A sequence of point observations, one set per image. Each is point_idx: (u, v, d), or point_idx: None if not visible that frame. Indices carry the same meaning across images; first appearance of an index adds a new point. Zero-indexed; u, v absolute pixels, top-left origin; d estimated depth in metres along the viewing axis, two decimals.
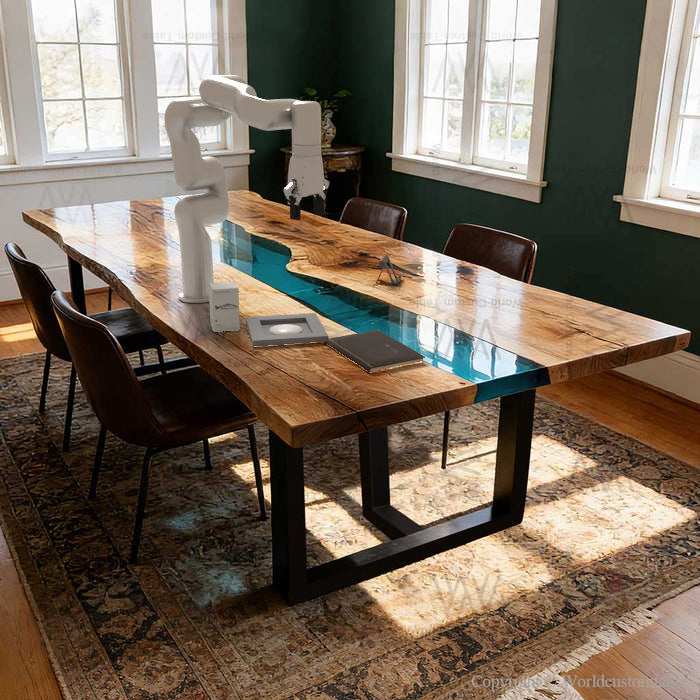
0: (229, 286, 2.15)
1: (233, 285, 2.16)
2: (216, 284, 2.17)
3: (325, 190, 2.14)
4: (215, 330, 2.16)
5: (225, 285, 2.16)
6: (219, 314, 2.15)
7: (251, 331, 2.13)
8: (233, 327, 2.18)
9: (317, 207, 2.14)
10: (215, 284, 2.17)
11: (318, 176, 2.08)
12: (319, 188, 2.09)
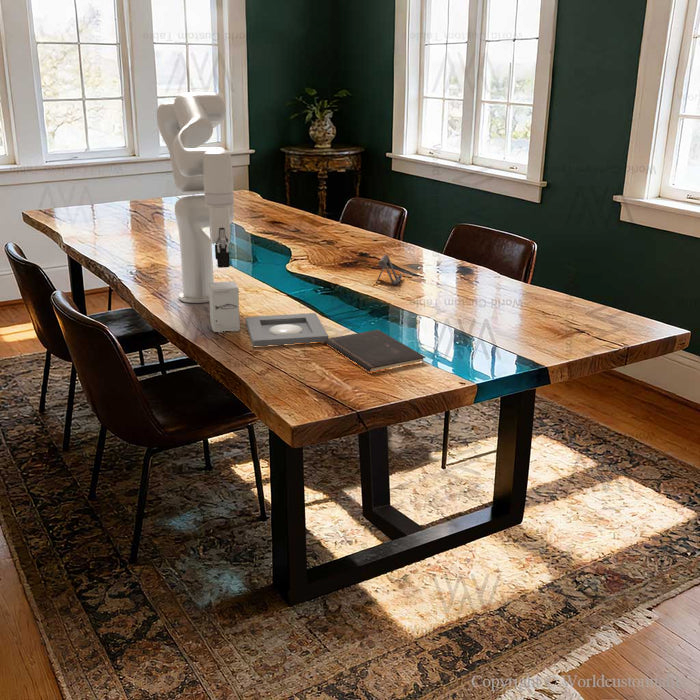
0: (229, 286, 2.15)
1: (233, 285, 2.16)
2: (216, 284, 2.17)
3: None
4: (215, 330, 2.16)
5: (225, 285, 2.16)
6: (219, 314, 2.15)
7: (251, 331, 2.13)
8: (233, 327, 2.18)
9: None
10: (215, 284, 2.17)
11: None
12: None
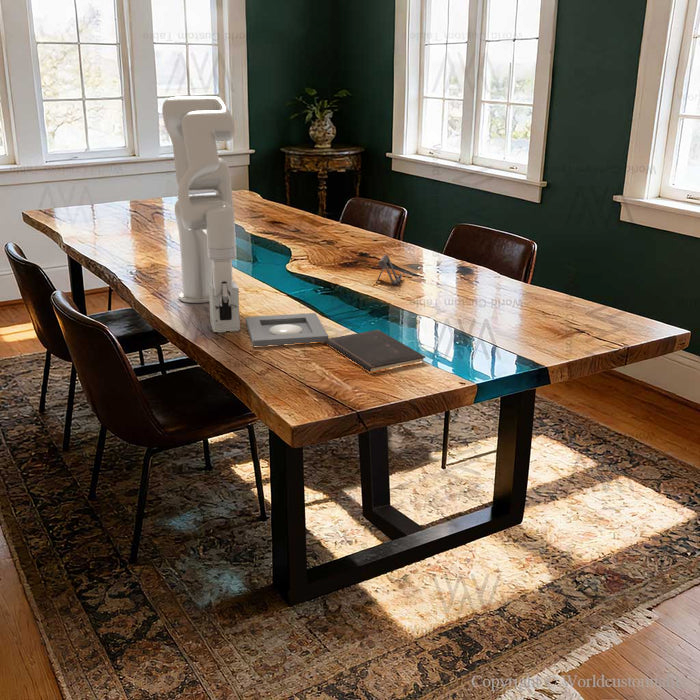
0: None
1: (233, 285, 2.16)
2: None
3: None
4: (215, 330, 2.16)
5: None
6: (219, 314, 2.15)
7: (251, 331, 2.13)
8: (233, 327, 2.18)
9: None
10: None
11: None
12: None
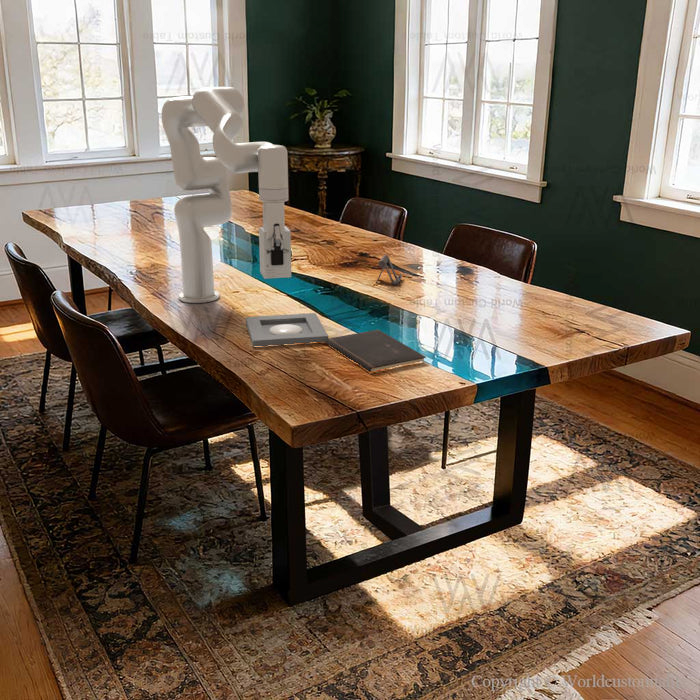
0: None
1: None
2: None
3: None
4: (266, 276, 2.08)
5: None
6: (270, 259, 2.07)
7: (251, 331, 2.13)
8: (284, 273, 2.09)
9: None
10: None
11: None
12: None
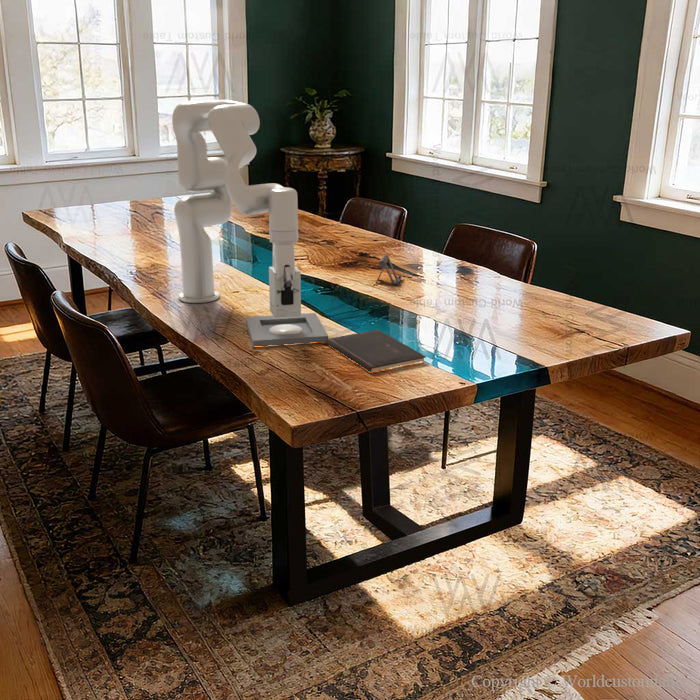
0: None
1: None
2: None
3: None
4: (276, 315, 2.11)
5: None
6: (280, 299, 2.10)
7: (251, 331, 2.13)
8: (294, 312, 2.12)
9: None
10: None
11: None
12: None
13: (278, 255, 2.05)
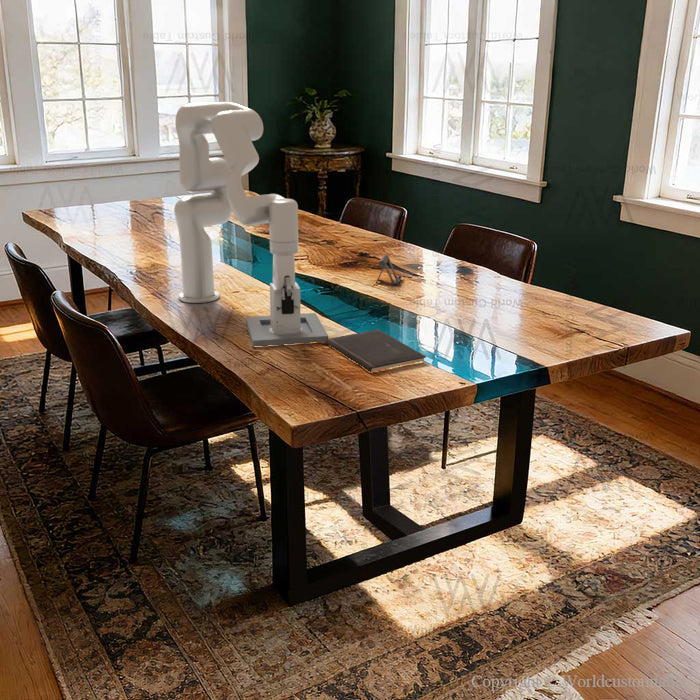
0: None
1: None
2: None
3: None
4: (276, 331, 2.13)
5: None
6: (280, 315, 2.12)
7: (251, 331, 2.13)
8: (294, 328, 2.14)
9: None
10: None
11: None
12: None
13: (278, 266, 2.06)
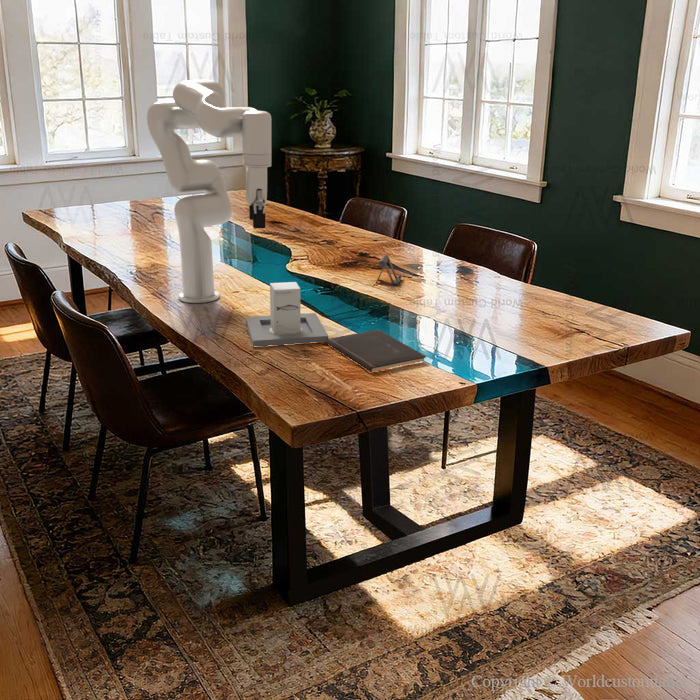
0: (291, 287, 2.11)
1: (294, 285, 2.12)
2: (278, 284, 2.13)
3: None
4: (276, 331, 2.13)
5: (287, 285, 2.12)
6: (280, 315, 2.12)
7: (251, 331, 2.13)
8: (294, 328, 2.14)
9: None
10: (276, 284, 2.13)
11: None
12: None
13: (250, 178, 2.06)
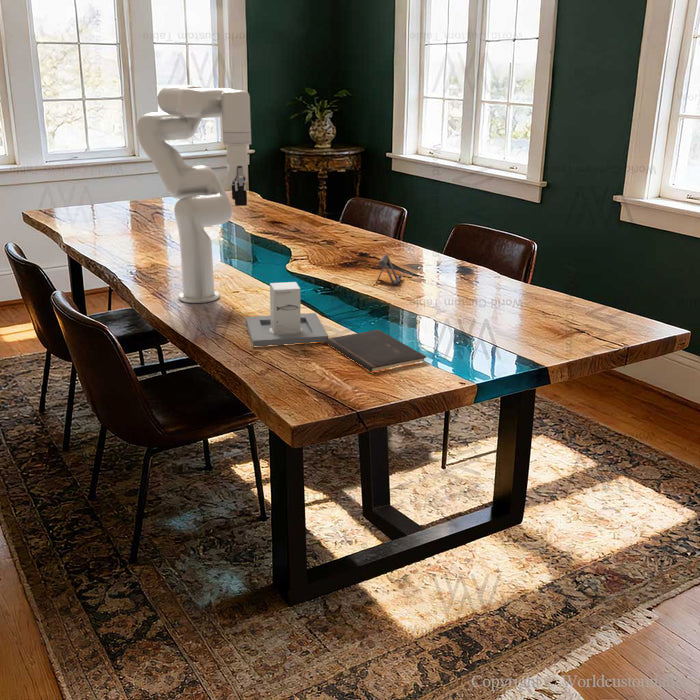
0: (291, 287, 2.11)
1: (294, 285, 2.12)
2: (278, 284, 2.13)
3: None
4: (276, 331, 2.13)
5: (287, 285, 2.12)
6: (280, 315, 2.12)
7: (251, 331, 2.13)
8: (294, 328, 2.14)
9: None
10: (276, 284, 2.13)
11: None
12: None
13: (231, 156, 2.09)
